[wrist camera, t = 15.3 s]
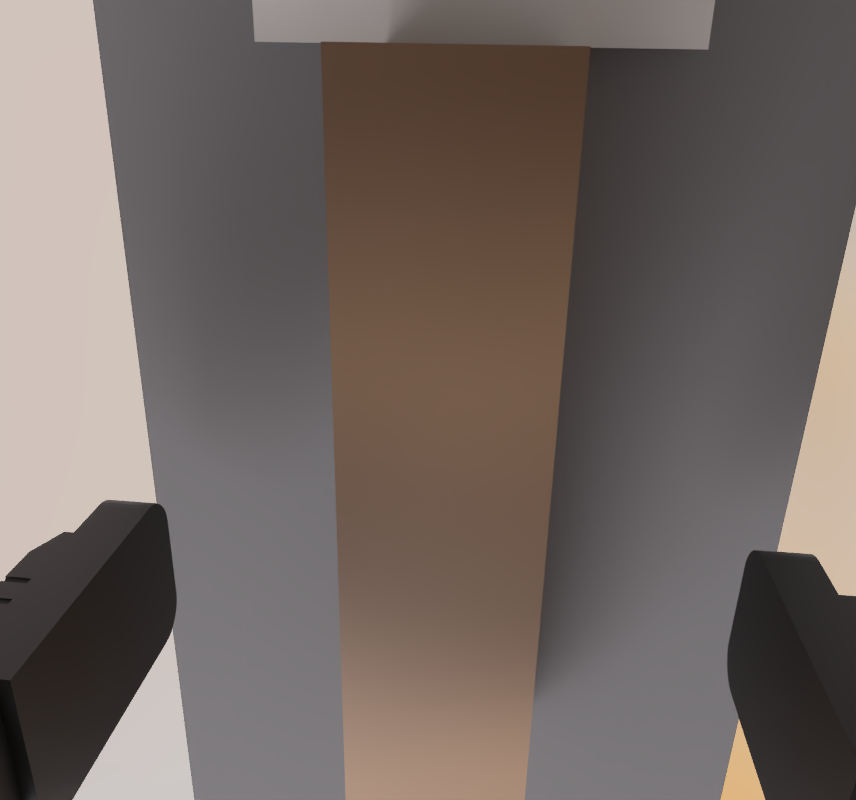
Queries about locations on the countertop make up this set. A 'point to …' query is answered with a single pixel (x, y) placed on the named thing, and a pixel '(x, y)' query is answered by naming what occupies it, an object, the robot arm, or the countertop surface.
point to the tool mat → (579, 396)
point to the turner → (450, 355)
